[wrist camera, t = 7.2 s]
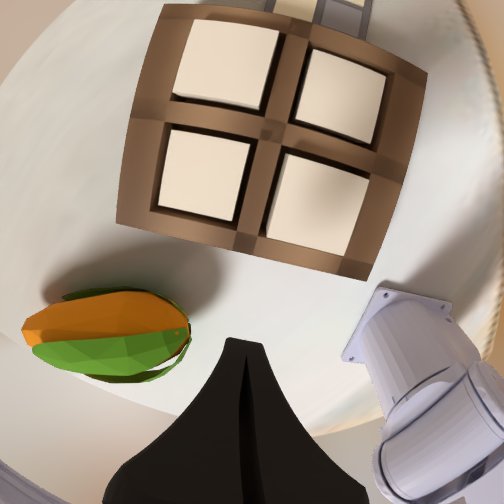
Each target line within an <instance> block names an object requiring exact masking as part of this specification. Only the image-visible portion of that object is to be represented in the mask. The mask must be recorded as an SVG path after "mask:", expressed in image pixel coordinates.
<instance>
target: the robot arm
mask: <svg viewBox="0 0 504 504" xmlns="http://www.w3.org/2000/svg"><path fill="white" fill-rule="evenodd" d="M385 293H387V294H386V295H385V296H384V294H385ZM452 307H453V305H452V303H451V302H447V301H443V300H438V299H434V298H429V297H425V296H421V295H416V294H412V293H407V292H403V291H398V290H394V289H389V288H385V287H379V288H377V289H376V290H375V292H374V294H373V296H372V299H371V301H370V303H369V305H368V307H367V309H366V311H365V313H364V315H363V317H362V319H361V321H360V323H359V325H358V326H357V328H356V330H355V332H354V334H353V336H352V338H351V340H350V341H349V343H348V345H347V347H346V349H345V350H344V352H343V354H342V356H341V359H342V361H343V362H351V363H362V364H365V365H366V367H367V370H368V373H369V375H370V378H371V381H372V383H373V386H374V389H375V392H376V394H377V397H378V400H379V403H380V406H381V408H382V411H383V414H384V417H385V420H386V423H385V425H384V426H383V427H381V428H380V429H379V431H380V434H381V437H382V442H380V443H379V444H378V445H377V446H376V448H375V450H374V453H373V458H372V472H373V477H374V480H375V483H376V485H377V487H378V489H379V490H380V492H381V493H382V494H383V495H384V496H385V497H386V498H387V499H388V500H390V501H391V502H393V503H395V504H504V379H503V377H502V376H501V375H500V374H499V373H498V372H497V370H495V368H494V367H493V366H492V365H490V364H489V363H487V362H486V361H482V362H481V357H480V354H479V351H478V349H477V348H476V346H475V345H474V344H473V343H472V341H471V340H470V339H469V337H468V336H467V335H466V334H465V333H464V331H463V330H462V329H461V328H460V326H459V325H458V324H457V323H456V322H455V320H454V319H453V318H452V317H451V316H450V315H449V313H450V311H451V310H452ZM351 357H352V358H351ZM102 503H103V504H369V498H368V495H367V492H366V489H365V487H364V486H362V485H361V484H360V483H358V482H357V481H356V480H355V479H353V478H352V477H351V476H349V475H348V474H347V473H346V472H344V471H343V470H342V469H341V468H340V467H339V466H338V465H336V463H334V462H333V461H332V460H331V459H330V458H329V457H328V455H327V454H326V453H325V452H324V451H323V450H322V449H321V448H320V447H319V446H318V444H317V443H316V442H315V441H314V440H313V439H312V437H311V436H310V435H309V434H308V432H307V431H306V430H305V428H304V427H303V425H302V424H301V423H300V421H299V420H298V418H297V417H296V415H295V414H294V412H293V410H292V409H291V407H290V405H289V403H288V402H287V400H286V398H285V396H284V394H283V392H282V390H281V388H280V386H279V384H278V382H277V380H276V378H275V376H274V373H273V371H272V369H271V366H270V364H269V361H268V358H267V356H266V353H265V350H264V346H263V345H262V343H257V342H252V341H246V340H241V339H236V338H231V337H229V338H227V339H226V341H225V345H224V349H223V352H222V354H221V356H220V359H219V361H218V363H217V365H216V366H215V368H214V370H213V372H212V374H211V375H210V377H209V378H208V380H207V381H206V383H205V384H204V386H203V387H202V389H201V390H200V392H199V393H198V394H197V396H196V397H195V398H194V400H193V401H192V402H191V403H190V405H189V406H188V407H187V408H186V409H185V411H184V412H183V413H182V414H181V415H180V416H179V417H178V418H177V419H176V420H175V422H174V423H173V424H172V425H171V426H170V427H169V428H168V429H167V430H165V431H164V432H163V433H162V434H161V435H160V436H159V437H158V438H157V439H155V440H154V441H153V442H152V443H151V444H150V445H148V446H147V447H146V448H145V449H143V450H142V451H141V452H139V453H138V454H137V455H135V456H134V457H132V458H131V459H130V460H128V461H127V462H125V463H124V464H123V465H122V466H121V467H120V468H119V470H118V471H117V472H116V473H115V475H114V476H113V477H112V479H111V480H110V482H109V483H108V486H107V488H106V490H105V493H104V497H103V500H102ZM0 504H70V503H68V502H66V501H64V500H62V499H60V498H58V497H57V496H55V495H53V494H51V493H49V492H48V491H46V490H44V489H43V488H41V487H39V486H38V485H36V484H34V483H33V482H31V481H30V480H28V479H27V478H25V477H24V476H22V475H20V474H19V473H18V472H16V471H15V470H13V469H12V468H11V467H9V466H8V465H7V464H5V463H4V462H3V461H1V460H0Z"/></svg>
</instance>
